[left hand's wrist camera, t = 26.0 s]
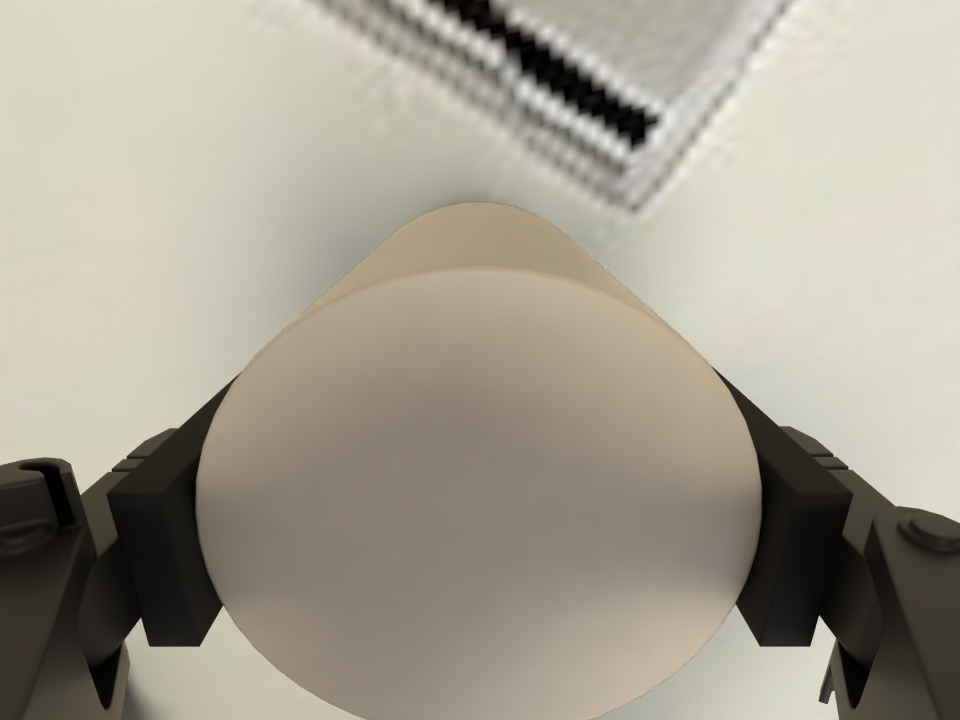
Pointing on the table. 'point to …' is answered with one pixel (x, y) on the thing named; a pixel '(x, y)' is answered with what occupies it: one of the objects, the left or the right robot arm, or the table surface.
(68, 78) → the table surface
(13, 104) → the table surface
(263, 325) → the table surface
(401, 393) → the can
